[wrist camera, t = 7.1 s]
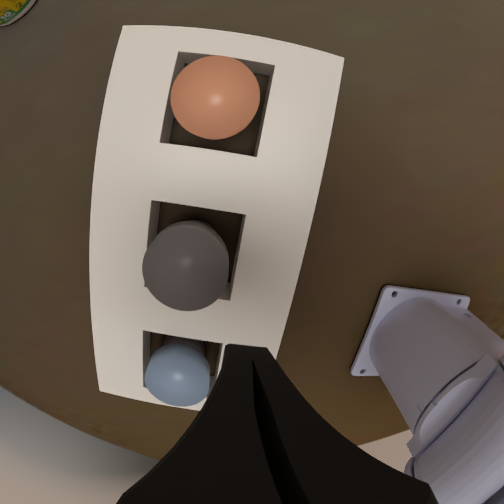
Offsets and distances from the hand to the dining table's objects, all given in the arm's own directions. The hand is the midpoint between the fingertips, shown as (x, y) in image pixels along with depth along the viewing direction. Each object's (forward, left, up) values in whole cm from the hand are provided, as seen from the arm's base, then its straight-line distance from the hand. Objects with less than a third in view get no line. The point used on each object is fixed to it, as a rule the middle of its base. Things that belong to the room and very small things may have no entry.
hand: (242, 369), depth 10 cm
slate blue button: (+3, +7, -10) cm, 13 cm away
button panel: (+3, -1, -10) cm, 11 cm away
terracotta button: (+3, -9, -10) cm, 14 cm away
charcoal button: (+3, -1, -9) cm, 10 cm away
